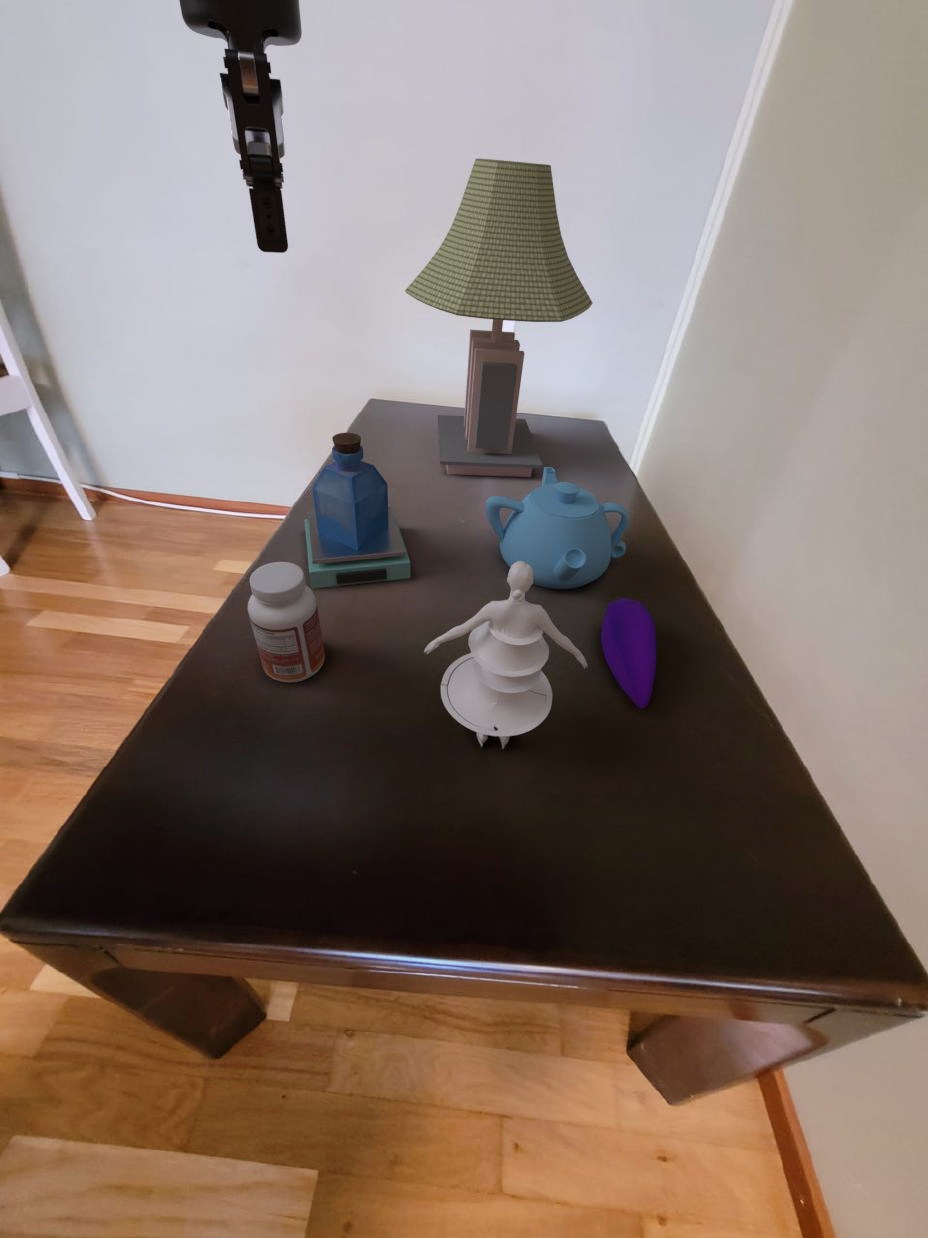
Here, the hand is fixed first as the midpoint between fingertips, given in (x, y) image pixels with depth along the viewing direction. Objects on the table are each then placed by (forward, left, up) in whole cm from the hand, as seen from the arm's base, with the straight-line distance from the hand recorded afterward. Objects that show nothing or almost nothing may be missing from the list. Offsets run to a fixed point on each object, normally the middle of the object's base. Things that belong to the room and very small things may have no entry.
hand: (273, 243), depth 44 cm
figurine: (+14, -27, -34) cm, 46 cm away
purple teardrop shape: (+31, -21, -34) cm, 51 cm away
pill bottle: (-3, -14, -34) cm, 37 cm away
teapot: (+30, -2, -34) cm, 46 cm away
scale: (+5, +4, -34) cm, 35 cm away
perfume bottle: (+5, +4, -30) cm, 31 cm away
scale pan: (+5, +4, -31) cm, 32 cm away
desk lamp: (+31, +32, -34) cm, 56 cm away
